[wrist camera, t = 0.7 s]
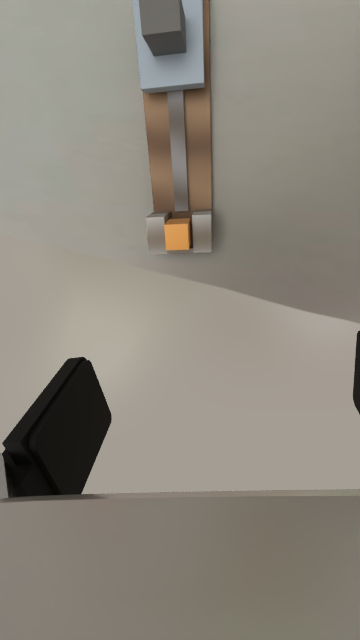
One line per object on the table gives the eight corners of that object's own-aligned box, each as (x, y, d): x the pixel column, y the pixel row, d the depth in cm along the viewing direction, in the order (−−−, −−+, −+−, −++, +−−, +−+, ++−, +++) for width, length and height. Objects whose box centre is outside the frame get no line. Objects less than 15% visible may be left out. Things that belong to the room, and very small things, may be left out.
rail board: (134, 7, 30) (115, -31, 24) (208, -3, 29) (206, -46, 23) (157, 241, 40) (147, 254, 34) (212, 239, 39) (211, 252, 33)
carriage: (136, -1, 27) (113, -50, 21) (202, -11, 27) (198, -64, 20) (145, 93, 31) (127, 74, 24) (204, 87, 30) (201, 66, 24)
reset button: (169, 219, 34) (164, 224, 31) (190, 218, 34) (187, 223, 30) (171, 242, 35) (166, 250, 32) (191, 241, 35) (188, 249, 31)
